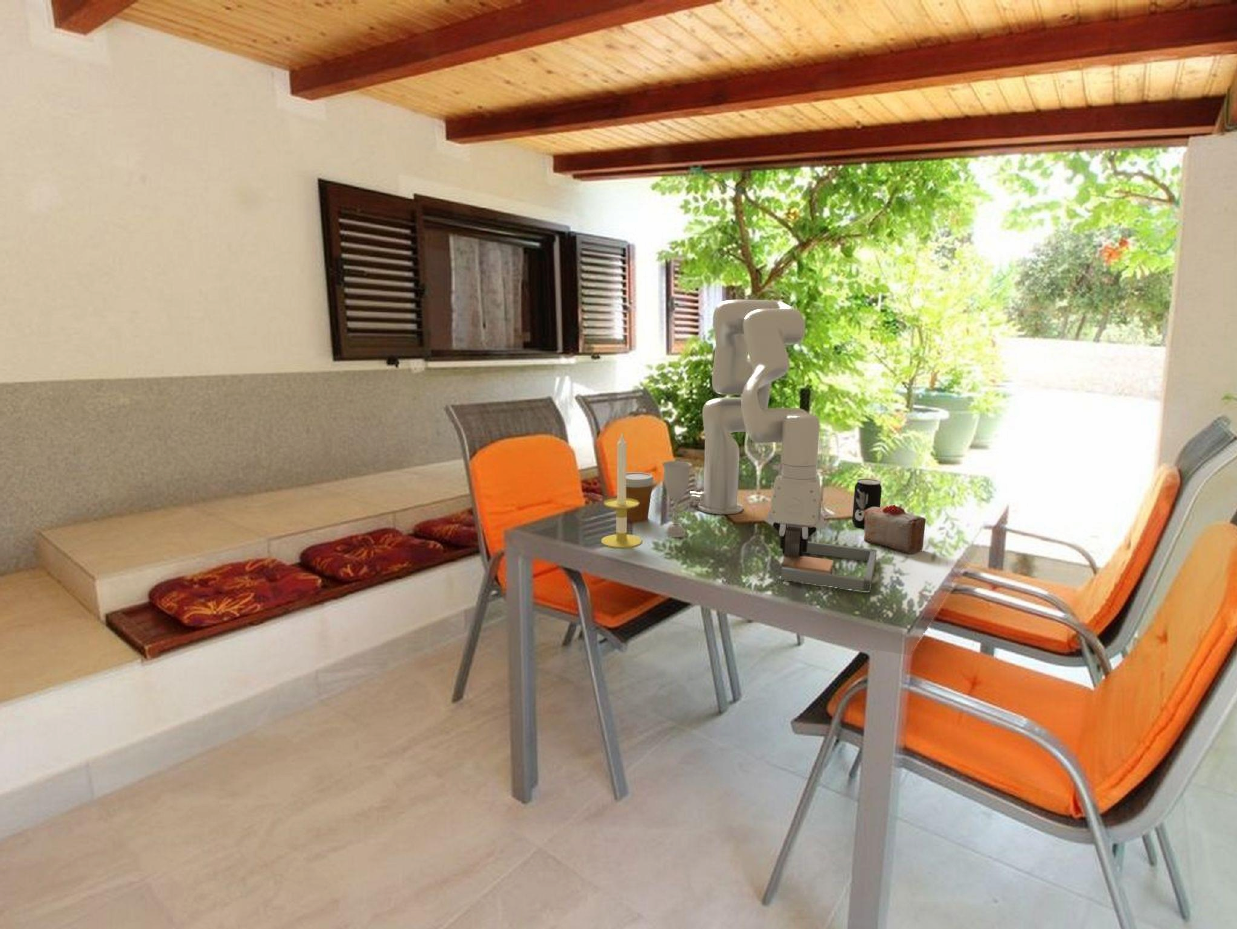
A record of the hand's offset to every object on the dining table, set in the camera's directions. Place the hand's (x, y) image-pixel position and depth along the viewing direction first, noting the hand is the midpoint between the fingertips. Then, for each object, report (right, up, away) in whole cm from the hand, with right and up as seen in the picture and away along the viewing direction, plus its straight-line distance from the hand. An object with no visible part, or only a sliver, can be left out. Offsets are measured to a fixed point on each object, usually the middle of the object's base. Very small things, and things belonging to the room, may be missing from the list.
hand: (793, 552), depth 147 cm
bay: (+7, -3, -2) cm, 8 cm away
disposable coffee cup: (-33, +4, +34) cm, 48 cm away
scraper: (0, -2, +1) cm, 2 cm away
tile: (+4, -4, -1) cm, 6 cm away
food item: (+27, 0, +14) cm, 30 cm away
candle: (-38, 0, +16) cm, 41 cm away
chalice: (-24, +2, +22) cm, 32 cm away
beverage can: (+26, +3, +29) cm, 39 cm away
